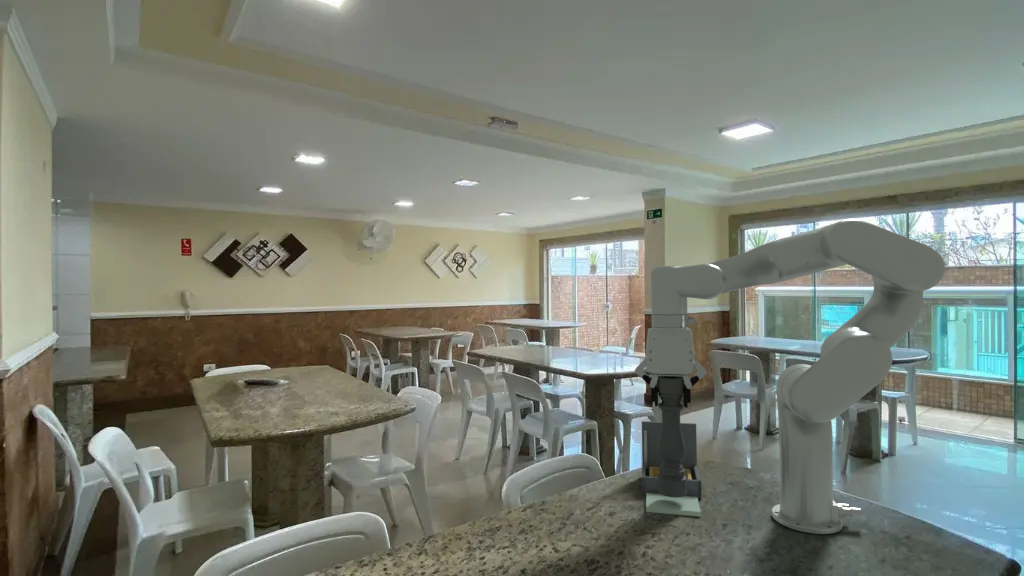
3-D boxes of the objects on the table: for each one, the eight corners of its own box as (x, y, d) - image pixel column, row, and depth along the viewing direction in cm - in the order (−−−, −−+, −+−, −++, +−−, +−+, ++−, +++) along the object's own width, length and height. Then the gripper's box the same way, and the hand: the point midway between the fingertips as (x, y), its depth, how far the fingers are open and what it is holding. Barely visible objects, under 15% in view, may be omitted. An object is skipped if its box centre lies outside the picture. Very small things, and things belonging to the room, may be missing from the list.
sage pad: (697, 501, 118) (697, 497, 118) (700, 516, 110) (700, 511, 110) (646, 497, 121) (646, 492, 121) (646, 511, 113) (646, 507, 113)
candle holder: (691, 491, 116) (690, 376, 116) (678, 499, 111) (677, 380, 111) (665, 484, 120) (664, 373, 120) (652, 492, 116) (650, 377, 116)
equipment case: (696, 480, 131) (695, 423, 131) (701, 499, 119) (700, 437, 119) (642, 476, 134) (641, 421, 134) (642, 494, 123) (641, 433, 123)
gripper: (709, 321, 117) (710, 403, 117) (629, 321, 121) (631, 400, 121) (713, 323, 110) (714, 411, 110) (628, 323, 114) (629, 407, 114)
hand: (670, 404), depth 116 cm, fingers closed on candle holder, 5 cm apart
